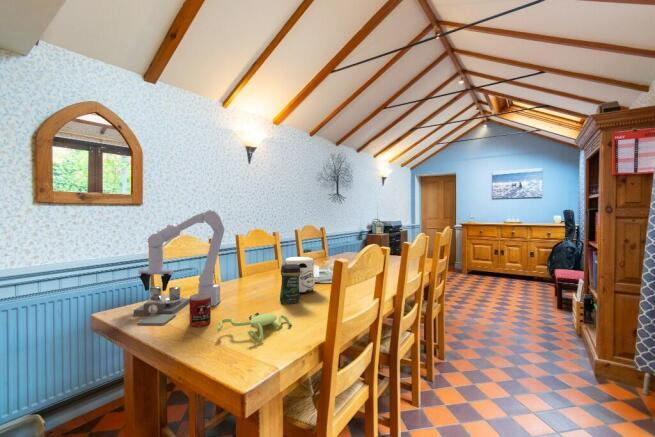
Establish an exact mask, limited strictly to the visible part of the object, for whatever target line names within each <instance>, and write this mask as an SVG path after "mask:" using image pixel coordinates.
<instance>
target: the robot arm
mask: <svg viewBox="0 0 655 437" xmlns="http://www.w3.org/2000/svg"><path fill="white" fill-rule="evenodd" d="M203 223H205V224H207V225H208V226H210V228H211V229H212V231H213V235H212V237H211V242H210V245H209V248H208V252H207V255H206V260H205V263H204V267H203V269H202V270H201V271H200V274H199V278H198V281H199V283H198V285H197V286H198V289H197V290H198V291H197V292H198V293H197V294H199V293H207V294H210V295H211V307H215V306H217V305H218V304H219V303H220V302H221V287H220V284H216V283H215V281H214V279H215V278H214V277H215V274H214V273H215V272H214V271H215V266H216V262H217V259H218V256H219V252H220V249H221V244H222V241H223V237H224V233H225V227H224V224H223V221H222V219H221V217H220V215H219V214H218V213H217V212H216V211H215V210H212V209H209V210H206V211H205V212H201V213H198V214H195V215H193V216H192V217H190V218H188V219H187V220H183V221H182V222H181V223H178V224H174V223H173V224H168V225H166V227H164V228H163V229H161V230H157V231H156V233H152V234H150V236H148V238H147V243H148V269H147V268H146V269H145V268H144V269H138V272H137V274H138V275H139V279H140V281H141V282H142V284H143V288H144V291H145V292H148V291H149V290H150V282H151V281H150V280H151V275H161V276H160V279H161V284H162V285H161V292H166V291H167V288H168V284H169V282H170V281H171V277H172V276H173V275H174V270H173V269H164V249H163V248H164V243H167V242H169V241H171V240H172V239H175V238H177V237H178V236H180V234H181V231H183V230H186V229H188V228H189V227H192V226H194V225H196V224H203Z"/></svg>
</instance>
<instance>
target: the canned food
mask: <svg viewBox="0 0 655 437" xmlns="http://www.w3.org/2000/svg"><path fill="white" fill-rule="evenodd" d="M189 298H190V303H189V326H191V327H193V328H203V327H206V326H208V325H209V324H211V318H212V317H211V316H212V315H211V311H212V310H211V308H212V306H211V295H210V294H207V293H199V294H198V293H194V294H192V295H190V296H189Z"/></svg>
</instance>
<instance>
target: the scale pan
mask: <svg viewBox="0 0 655 437" xmlns="http://www.w3.org/2000/svg"><path fill="white" fill-rule="evenodd" d="M182 298H183V296H182V295H181V294H180V299H178V300H169V294H161V299H158V300H150V298H148V299H147V302H166V304H171V303H175V302H178V301H181V300H182Z"/></svg>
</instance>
